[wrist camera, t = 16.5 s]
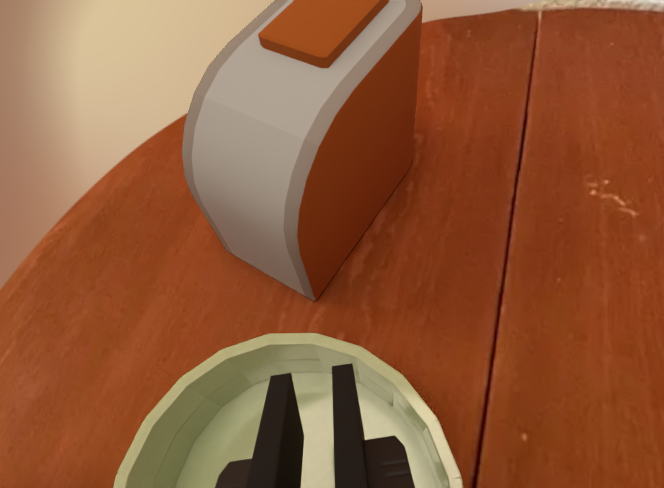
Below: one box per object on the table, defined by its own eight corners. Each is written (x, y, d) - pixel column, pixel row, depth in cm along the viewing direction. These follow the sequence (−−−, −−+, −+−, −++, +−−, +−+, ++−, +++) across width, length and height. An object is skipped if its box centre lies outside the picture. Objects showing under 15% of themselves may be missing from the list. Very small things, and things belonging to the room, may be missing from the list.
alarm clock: (332, 118, 38) (308, -51, 27) (421, 153, 35) (437, -21, 24) (221, 247, 33) (130, 104, 21) (316, 302, 30) (270, 171, 18)
